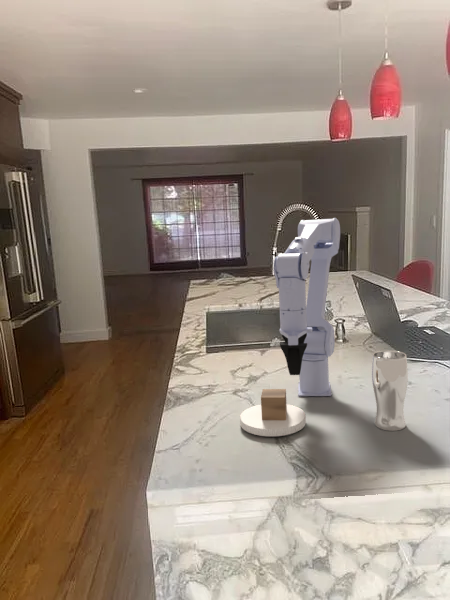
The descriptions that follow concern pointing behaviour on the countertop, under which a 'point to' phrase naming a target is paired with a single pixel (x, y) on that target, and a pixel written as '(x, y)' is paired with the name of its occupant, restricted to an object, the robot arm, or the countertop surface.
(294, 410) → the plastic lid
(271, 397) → the walnut cube
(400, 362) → the beer glass
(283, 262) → the robot arm
